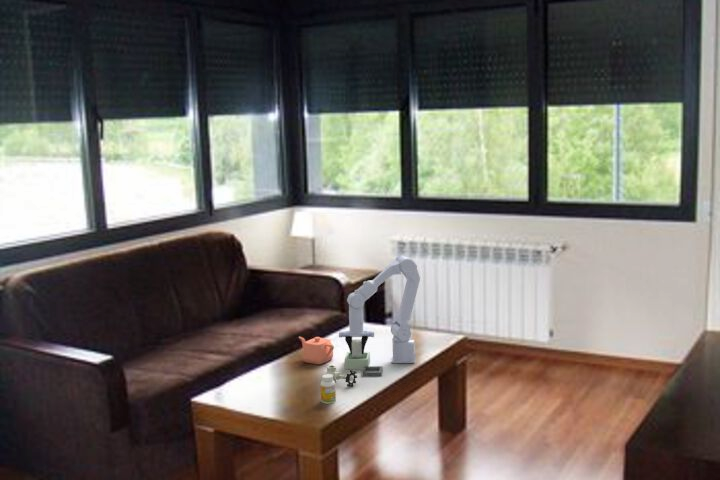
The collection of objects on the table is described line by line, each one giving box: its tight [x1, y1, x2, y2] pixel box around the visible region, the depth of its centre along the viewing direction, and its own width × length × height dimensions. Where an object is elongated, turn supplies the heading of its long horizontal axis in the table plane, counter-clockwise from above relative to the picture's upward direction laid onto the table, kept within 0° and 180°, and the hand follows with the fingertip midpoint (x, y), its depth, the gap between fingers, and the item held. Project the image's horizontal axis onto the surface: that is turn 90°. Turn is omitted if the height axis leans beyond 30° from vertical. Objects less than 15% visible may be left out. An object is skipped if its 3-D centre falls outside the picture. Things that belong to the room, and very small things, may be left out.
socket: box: [362, 365, 384, 377], centre depth 314 cm, size 8×8×2 cm
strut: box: [352, 338, 363, 359], centre depth 324 cm, size 4×4×8 cm
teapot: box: [298, 336, 335, 365], centre depth 331 cm, size 12×18×10 cm, turn 57°
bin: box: [344, 351, 371, 370], centre depth 324 cm, size 10×10×4 cm
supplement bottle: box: [320, 373, 337, 405], centre depth 284 cm, size 5×5×10 cm
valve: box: [325, 364, 358, 388], centre depth 302 cm, size 7×7×12 cm
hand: (357, 353), depth 324 cm, fingers closed on strut, 4 cm apart
